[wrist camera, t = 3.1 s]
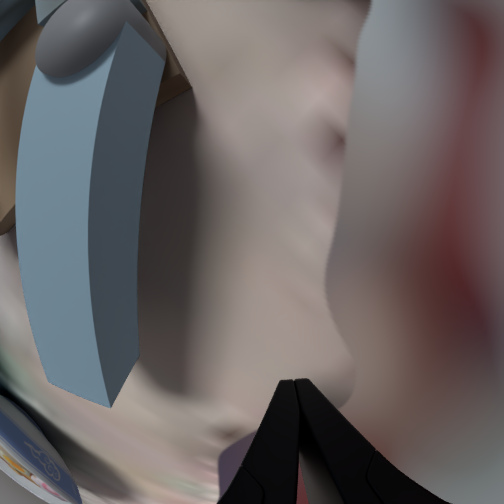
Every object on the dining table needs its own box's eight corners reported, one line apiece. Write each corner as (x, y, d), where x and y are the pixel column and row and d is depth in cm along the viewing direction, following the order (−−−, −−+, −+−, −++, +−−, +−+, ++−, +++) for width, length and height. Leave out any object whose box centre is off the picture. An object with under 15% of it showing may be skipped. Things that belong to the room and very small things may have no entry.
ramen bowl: (100, 491, 23) (86, 529, 15) (-16, 410, 20) (-38, 439, 12) (109, 424, 16) (75, 502, 8) (-54, 289, 14) (-100, 321, 6)
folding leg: (107, 36, 7) (56, -1, 3) (175, 29, 7) (139, -25, 4) (85, 338, 11) (45, 386, 7) (139, 354, 11) (107, 413, 7)
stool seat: (116, -52, 6) (82, -93, 1) (192, 87, 10) (145, 32, 5) (-26, 77, 8) (-73, 73, 3) (7, 232, 12) (-56, 260, 6)
